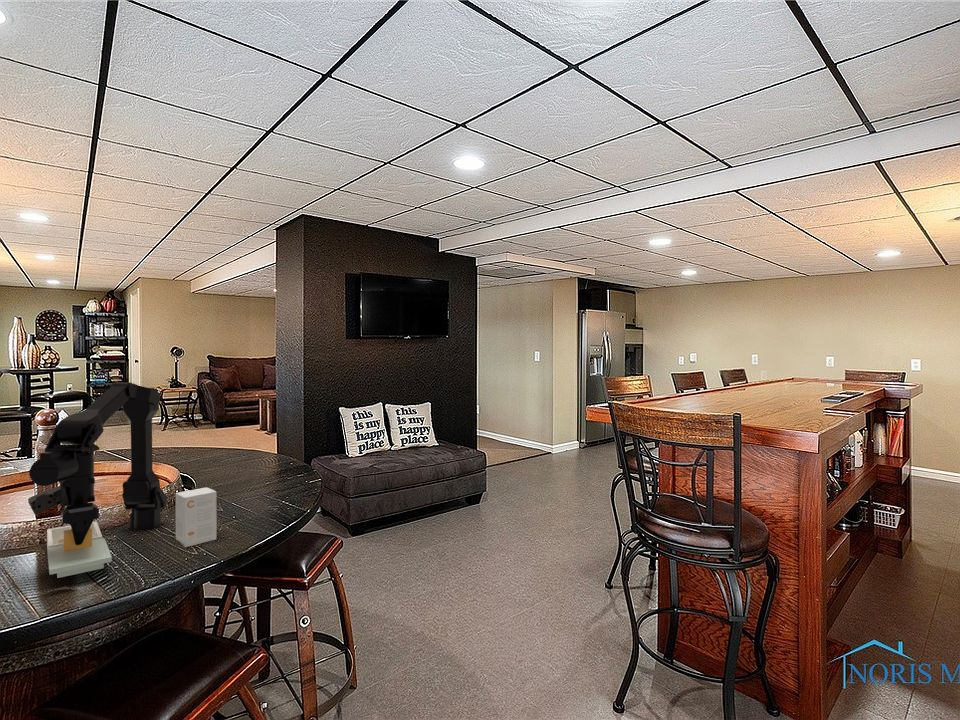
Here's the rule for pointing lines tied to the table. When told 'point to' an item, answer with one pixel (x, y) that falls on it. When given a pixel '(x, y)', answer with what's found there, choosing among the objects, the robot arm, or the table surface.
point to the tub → (57, 533)
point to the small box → (196, 516)
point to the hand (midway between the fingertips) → (78, 542)
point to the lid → (78, 555)
